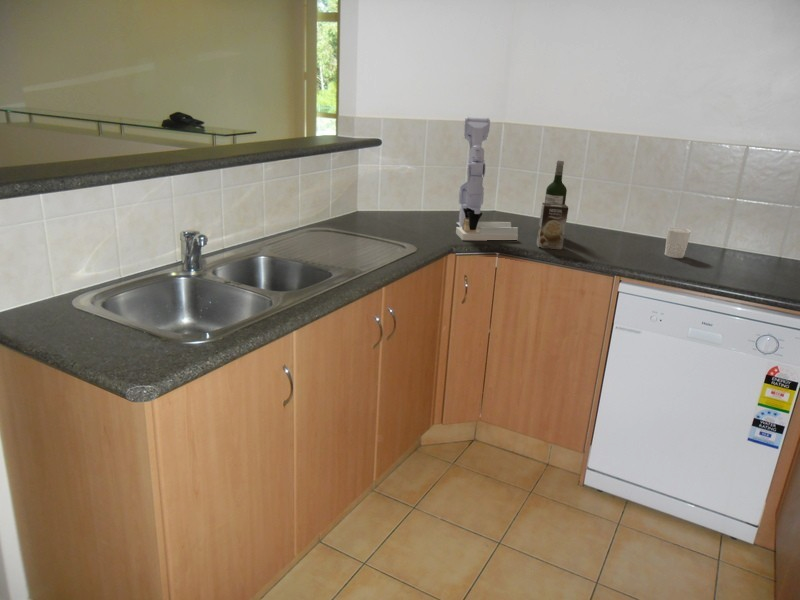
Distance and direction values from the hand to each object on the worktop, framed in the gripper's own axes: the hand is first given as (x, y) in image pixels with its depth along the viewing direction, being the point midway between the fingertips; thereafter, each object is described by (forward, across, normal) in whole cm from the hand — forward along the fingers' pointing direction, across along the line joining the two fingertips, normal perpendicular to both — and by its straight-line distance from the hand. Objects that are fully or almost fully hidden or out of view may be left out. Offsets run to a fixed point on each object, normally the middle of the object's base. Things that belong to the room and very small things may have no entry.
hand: (470, 228), depth 249 cm
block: (+1, 0, -1) cm, 1 cm away
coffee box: (+4, +14, +28) cm, 31 cm away
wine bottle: (+4, -4, +34) cm, 35 cm away
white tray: (+3, 0, +6) cm, 7 cm away
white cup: (+4, +24, +72) cm, 77 cm away
